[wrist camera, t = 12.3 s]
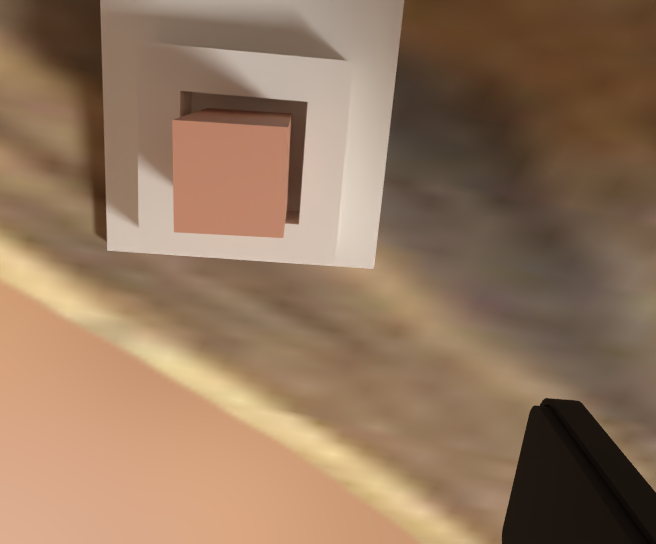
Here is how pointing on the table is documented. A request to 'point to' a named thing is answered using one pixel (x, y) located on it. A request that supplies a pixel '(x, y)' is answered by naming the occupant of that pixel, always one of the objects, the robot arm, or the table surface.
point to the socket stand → (252, 95)
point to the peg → (231, 172)
